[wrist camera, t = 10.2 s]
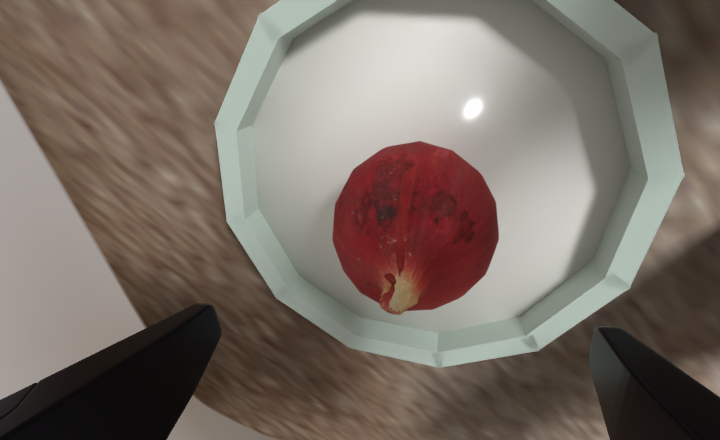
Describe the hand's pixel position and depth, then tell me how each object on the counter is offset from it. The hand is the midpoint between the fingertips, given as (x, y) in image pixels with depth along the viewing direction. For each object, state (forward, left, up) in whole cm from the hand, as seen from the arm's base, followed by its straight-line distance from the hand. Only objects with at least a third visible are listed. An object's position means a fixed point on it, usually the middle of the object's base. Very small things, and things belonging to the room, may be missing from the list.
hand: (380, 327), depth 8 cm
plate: (0, 0, -10) cm, 10 cm away
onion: (0, 0, -9) cm, 9 cm away
